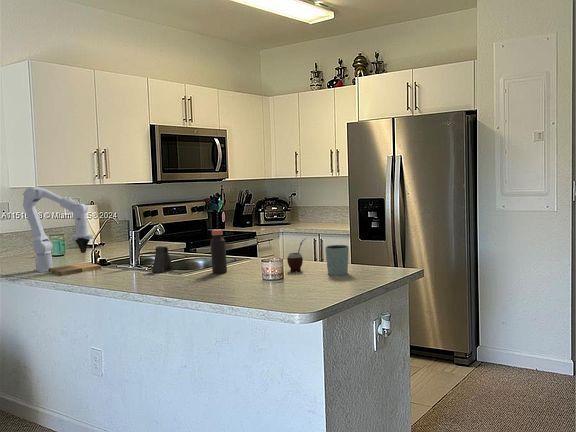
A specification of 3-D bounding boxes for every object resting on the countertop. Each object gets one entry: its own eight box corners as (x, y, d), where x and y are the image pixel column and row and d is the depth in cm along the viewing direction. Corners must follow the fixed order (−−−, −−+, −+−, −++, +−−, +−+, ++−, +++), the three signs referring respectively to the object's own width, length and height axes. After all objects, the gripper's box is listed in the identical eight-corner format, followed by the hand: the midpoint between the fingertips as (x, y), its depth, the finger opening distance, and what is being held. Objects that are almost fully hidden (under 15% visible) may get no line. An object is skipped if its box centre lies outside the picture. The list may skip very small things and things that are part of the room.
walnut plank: (48, 272, 293) (48, 268, 292) (67, 269, 299) (67, 265, 299) (61, 275, 279) (61, 271, 279) (81, 272, 286) (81, 268, 286)
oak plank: (68, 269, 300) (68, 265, 299) (86, 266, 306) (86, 262, 306) (82, 272, 286) (82, 268, 286) (101, 269, 293) (101, 265, 293)
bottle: (224, 273, 262) (221, 230, 260) (210, 274, 263) (207, 231, 261) (228, 271, 268) (226, 228, 266) (215, 271, 269) (212, 229, 268)
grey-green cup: (336, 270, 254) (335, 244, 253) (354, 272, 247) (353, 245, 246) (321, 274, 247) (320, 247, 246) (339, 277, 240) (338, 248, 239)
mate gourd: (284, 271, 259) (282, 239, 257) (296, 268, 264) (294, 236, 263) (296, 273, 254) (295, 239, 252) (308, 270, 259) (306, 237, 258)
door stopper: (159, 273, 273) (157, 248, 272) (151, 272, 277) (150, 247, 276) (174, 269, 279) (172, 245, 278) (166, 269, 283) (165, 245, 282)
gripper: (65, 227, 296) (68, 253, 297) (83, 227, 288) (86, 254, 289) (77, 225, 302) (79, 251, 303) (95, 226, 294) (97, 252, 295)
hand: (83, 252), depth 297 cm, fingers closed
